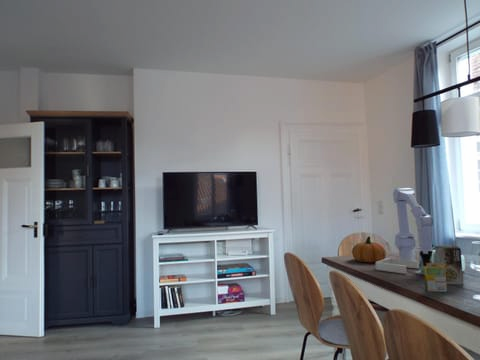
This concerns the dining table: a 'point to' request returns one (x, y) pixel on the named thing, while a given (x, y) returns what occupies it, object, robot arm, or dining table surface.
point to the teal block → (423, 265)
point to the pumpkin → (368, 252)
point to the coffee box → (450, 263)
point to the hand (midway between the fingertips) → (426, 266)
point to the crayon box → (435, 277)
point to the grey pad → (419, 272)
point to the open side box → (396, 265)
